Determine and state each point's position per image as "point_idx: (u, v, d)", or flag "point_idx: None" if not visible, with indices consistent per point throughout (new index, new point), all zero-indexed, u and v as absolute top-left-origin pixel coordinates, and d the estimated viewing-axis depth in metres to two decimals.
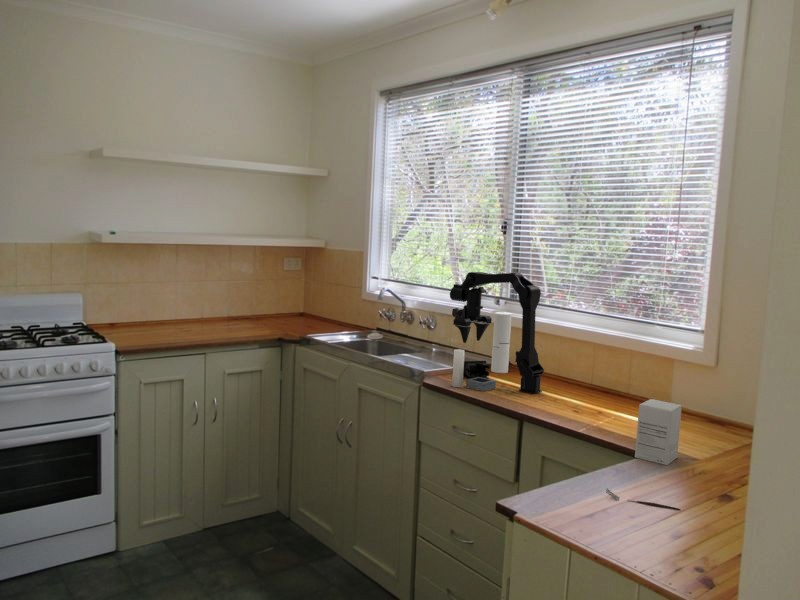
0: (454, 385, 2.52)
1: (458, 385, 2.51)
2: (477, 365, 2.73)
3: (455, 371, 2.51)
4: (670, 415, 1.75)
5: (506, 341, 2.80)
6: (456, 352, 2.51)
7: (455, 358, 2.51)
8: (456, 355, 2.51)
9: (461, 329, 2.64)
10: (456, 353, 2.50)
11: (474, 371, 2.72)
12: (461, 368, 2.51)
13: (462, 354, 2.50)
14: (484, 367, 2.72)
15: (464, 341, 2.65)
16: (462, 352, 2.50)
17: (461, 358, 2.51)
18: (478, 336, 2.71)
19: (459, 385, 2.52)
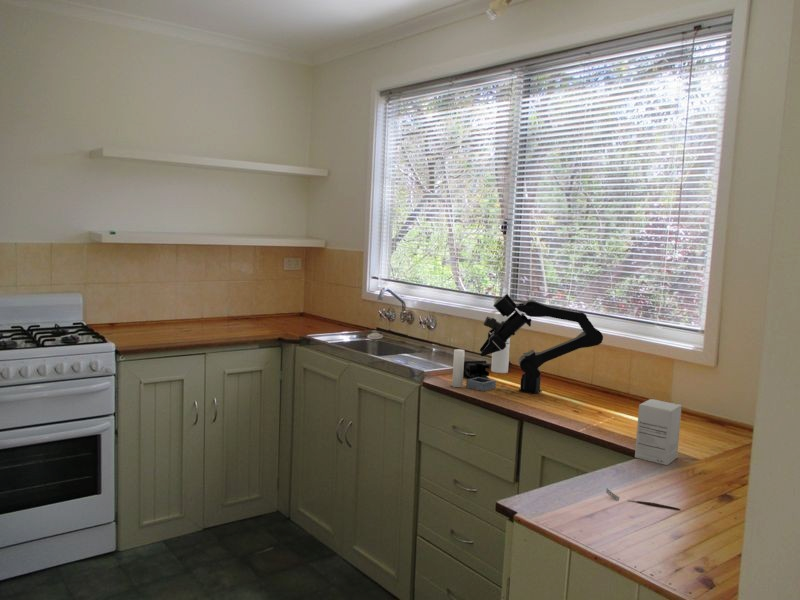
0: (454, 385, 2.52)
1: (458, 385, 2.51)
2: (477, 365, 2.73)
3: (455, 371, 2.51)
4: (670, 415, 1.75)
5: None
6: (456, 352, 2.51)
7: (455, 358, 2.51)
8: (456, 355, 2.51)
9: (490, 344, 2.45)
10: (456, 353, 2.50)
11: (474, 371, 2.72)
12: (461, 368, 2.51)
13: (462, 354, 2.50)
14: (484, 367, 2.72)
15: (482, 354, 2.47)
16: (462, 352, 2.50)
17: (461, 358, 2.51)
18: (484, 348, 2.56)
19: (459, 385, 2.52)
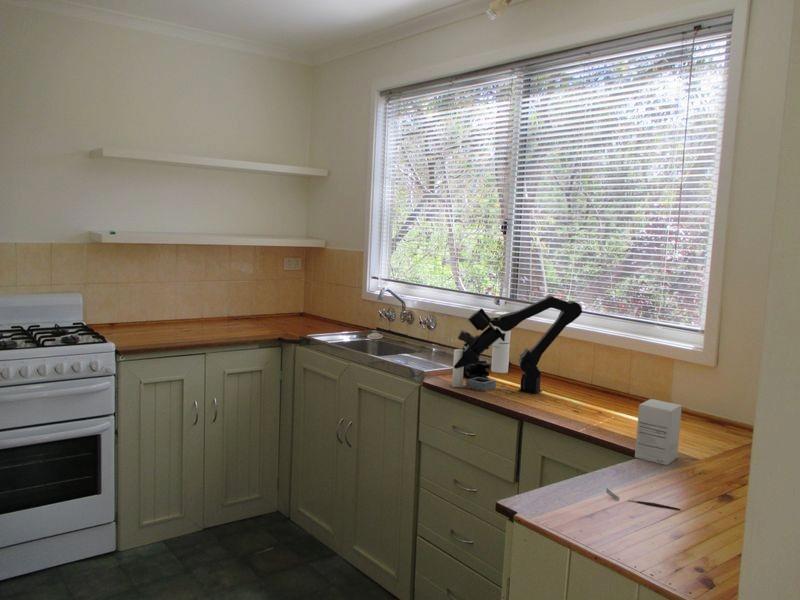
0: (454, 385, 2.52)
1: (458, 385, 2.51)
2: (477, 365, 2.73)
3: (455, 371, 2.51)
4: (670, 415, 1.75)
5: (506, 341, 2.80)
6: (456, 352, 2.50)
7: (455, 358, 2.51)
8: (456, 355, 2.51)
9: (464, 357, 2.48)
10: (456, 353, 2.50)
11: (474, 371, 2.72)
12: (461, 368, 2.51)
13: (462, 354, 2.50)
14: (484, 367, 2.72)
15: (456, 367, 2.50)
16: (462, 352, 2.50)
17: None
18: None
19: (459, 385, 2.52)
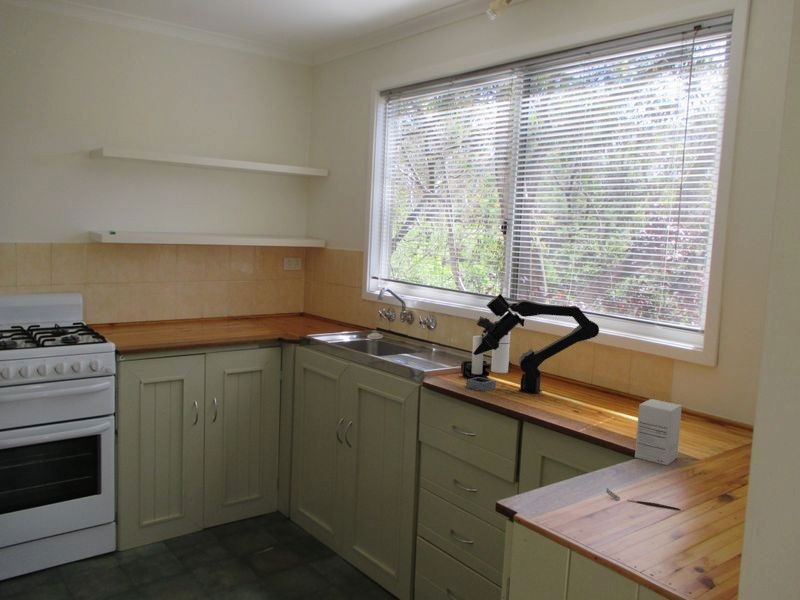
0: (474, 372, 2.51)
1: (478, 372, 2.50)
2: None
3: (475, 358, 2.50)
4: (670, 415, 1.75)
5: (506, 341, 2.80)
6: (475, 338, 2.49)
7: (474, 344, 2.50)
8: (475, 341, 2.50)
9: (483, 343, 2.47)
10: (475, 339, 2.49)
11: None
12: (480, 354, 2.50)
13: (481, 340, 2.49)
14: (484, 367, 2.72)
15: (475, 353, 2.49)
16: (481, 338, 2.49)
17: None
18: None
19: (479, 372, 2.51)
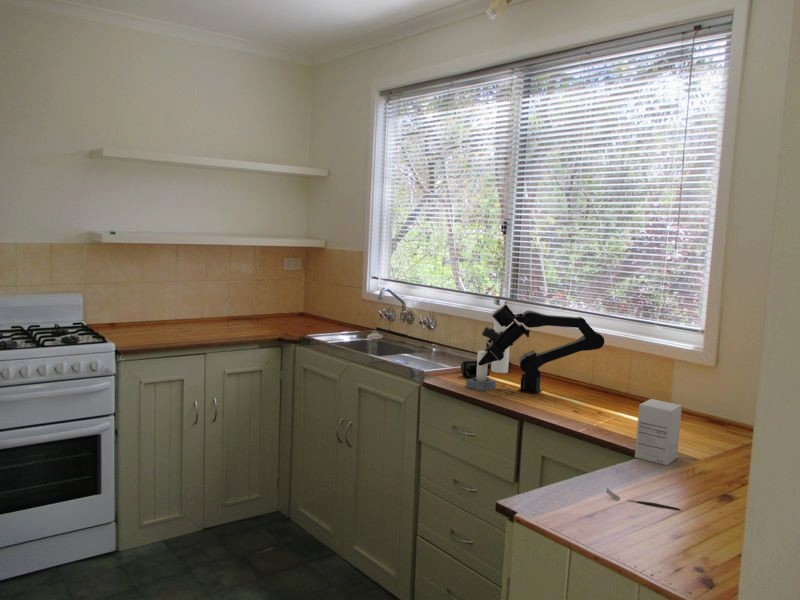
0: None
1: None
2: None
3: (479, 373, 2.51)
4: (670, 415, 1.75)
5: None
6: (480, 353, 2.50)
7: (479, 359, 2.50)
8: (480, 357, 2.50)
9: (488, 354, 2.46)
10: (480, 354, 2.50)
11: (474, 371, 2.72)
12: (485, 369, 2.50)
13: None
14: None
15: (480, 364, 2.48)
16: None
17: None
18: None
19: None
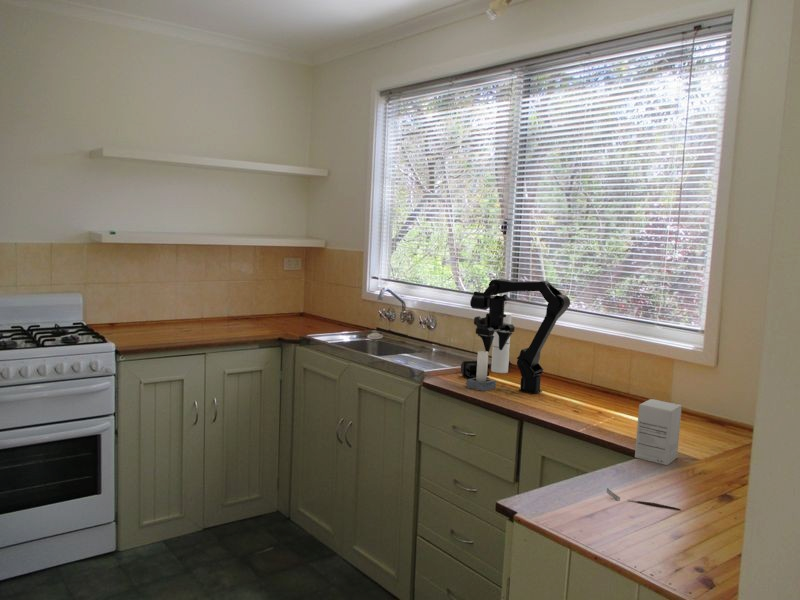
0: None
1: None
2: None
3: (479, 373, 2.51)
4: (670, 415, 1.75)
5: None
6: (480, 353, 2.50)
7: (479, 359, 2.50)
8: (480, 357, 2.50)
9: (484, 338, 2.54)
10: (480, 354, 2.50)
11: (474, 371, 2.72)
12: (485, 369, 2.50)
13: (486, 355, 2.50)
14: None
15: None
16: (486, 353, 2.50)
17: (485, 359, 2.50)
18: (501, 345, 2.62)
19: None
